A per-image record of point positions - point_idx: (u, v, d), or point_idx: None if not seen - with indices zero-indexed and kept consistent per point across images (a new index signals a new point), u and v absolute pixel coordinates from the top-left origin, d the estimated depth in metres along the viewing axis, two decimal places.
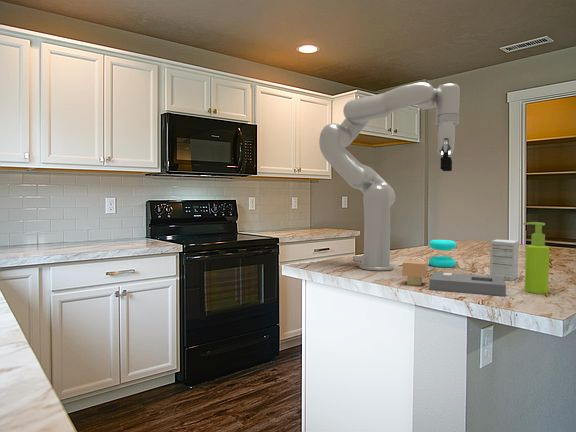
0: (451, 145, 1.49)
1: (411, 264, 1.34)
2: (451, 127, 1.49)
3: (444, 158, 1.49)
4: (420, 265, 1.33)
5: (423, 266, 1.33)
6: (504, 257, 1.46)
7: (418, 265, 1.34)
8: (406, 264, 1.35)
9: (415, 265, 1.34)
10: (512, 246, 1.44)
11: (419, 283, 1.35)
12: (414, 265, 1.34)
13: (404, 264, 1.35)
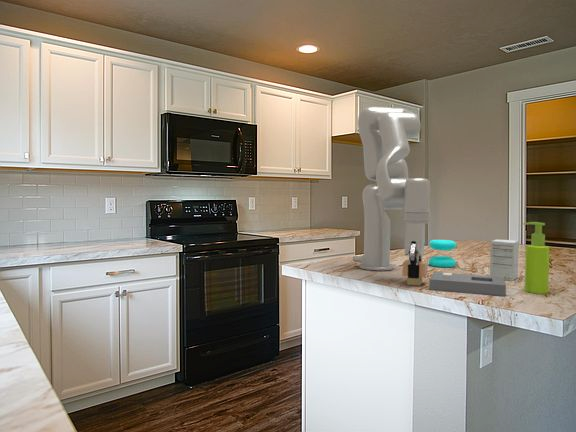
0: (419, 249, 1.32)
1: None
2: (419, 229, 1.32)
3: (412, 266, 1.33)
4: (420, 265, 1.33)
5: (423, 266, 1.33)
6: (504, 257, 1.46)
7: None
8: (406, 264, 1.35)
9: None
10: (512, 246, 1.44)
11: (419, 283, 1.35)
12: None
13: (404, 264, 1.35)
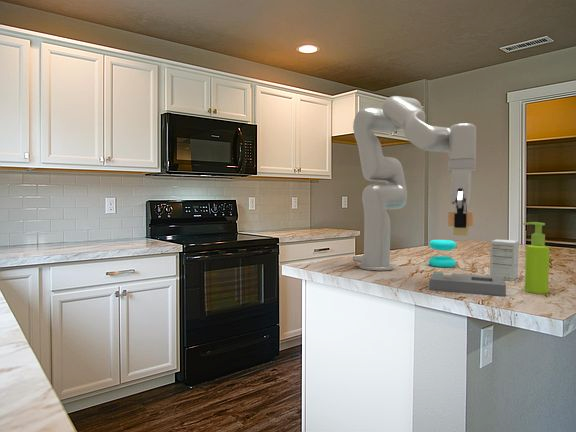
0: (466, 197, 1.26)
1: None
2: (466, 175, 1.26)
3: (458, 215, 1.27)
4: (467, 214, 1.27)
5: (470, 214, 1.27)
6: (504, 257, 1.46)
7: None
8: (452, 213, 1.29)
9: None
10: (512, 246, 1.44)
11: (466, 233, 1.29)
12: None
13: (450, 213, 1.29)
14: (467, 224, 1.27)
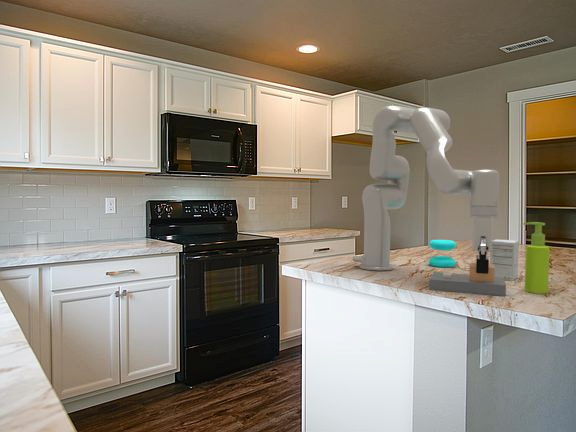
0: (489, 245, 1.24)
1: None
2: (489, 223, 1.24)
3: (481, 260, 1.24)
4: (489, 269, 1.26)
5: (492, 270, 1.25)
6: (504, 257, 1.46)
7: None
8: (473, 268, 1.28)
9: None
10: (512, 246, 1.44)
11: None
12: None
13: (471, 268, 1.28)
14: (489, 279, 1.26)
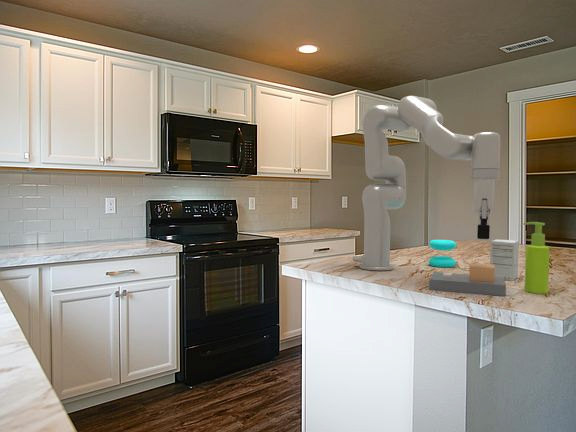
0: (491, 207, 1.24)
1: (479, 268, 1.27)
2: (491, 185, 1.24)
3: (482, 226, 1.28)
4: (489, 269, 1.26)
5: (492, 270, 1.25)
6: (504, 257, 1.46)
7: (487, 269, 1.26)
8: (473, 268, 1.28)
9: (483, 269, 1.26)
10: (512, 246, 1.44)
11: None
12: (482, 269, 1.27)
13: (471, 268, 1.28)
14: (489, 279, 1.26)
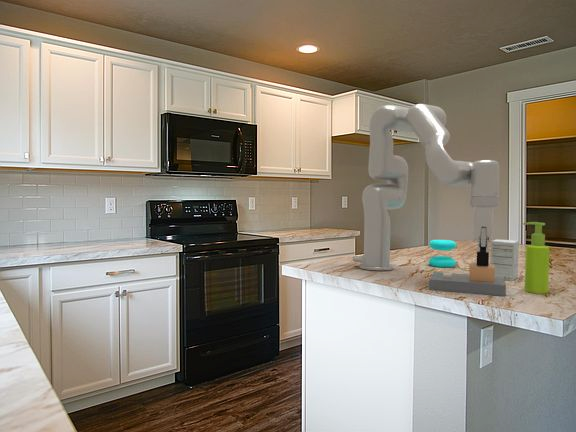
0: (490, 235, 1.24)
1: (479, 268, 1.27)
2: (490, 213, 1.24)
3: (481, 253, 1.28)
4: (489, 269, 1.26)
5: (492, 270, 1.25)
6: (504, 257, 1.46)
7: (487, 269, 1.26)
8: (473, 268, 1.28)
9: (483, 269, 1.26)
10: (512, 246, 1.44)
11: None
12: (482, 269, 1.27)
13: (471, 268, 1.28)
14: (489, 279, 1.26)
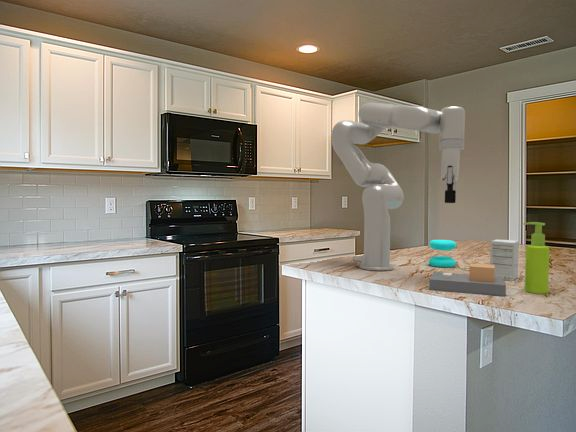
0: (455, 173, 1.38)
1: (479, 268, 1.27)
2: (455, 154, 1.38)
3: (448, 191, 1.42)
4: (489, 269, 1.26)
5: (492, 270, 1.25)
6: (504, 257, 1.46)
7: (487, 269, 1.26)
8: (473, 268, 1.28)
9: (483, 269, 1.26)
10: (512, 246, 1.44)
11: None
12: (482, 269, 1.27)
13: (471, 268, 1.28)
14: (489, 279, 1.26)
